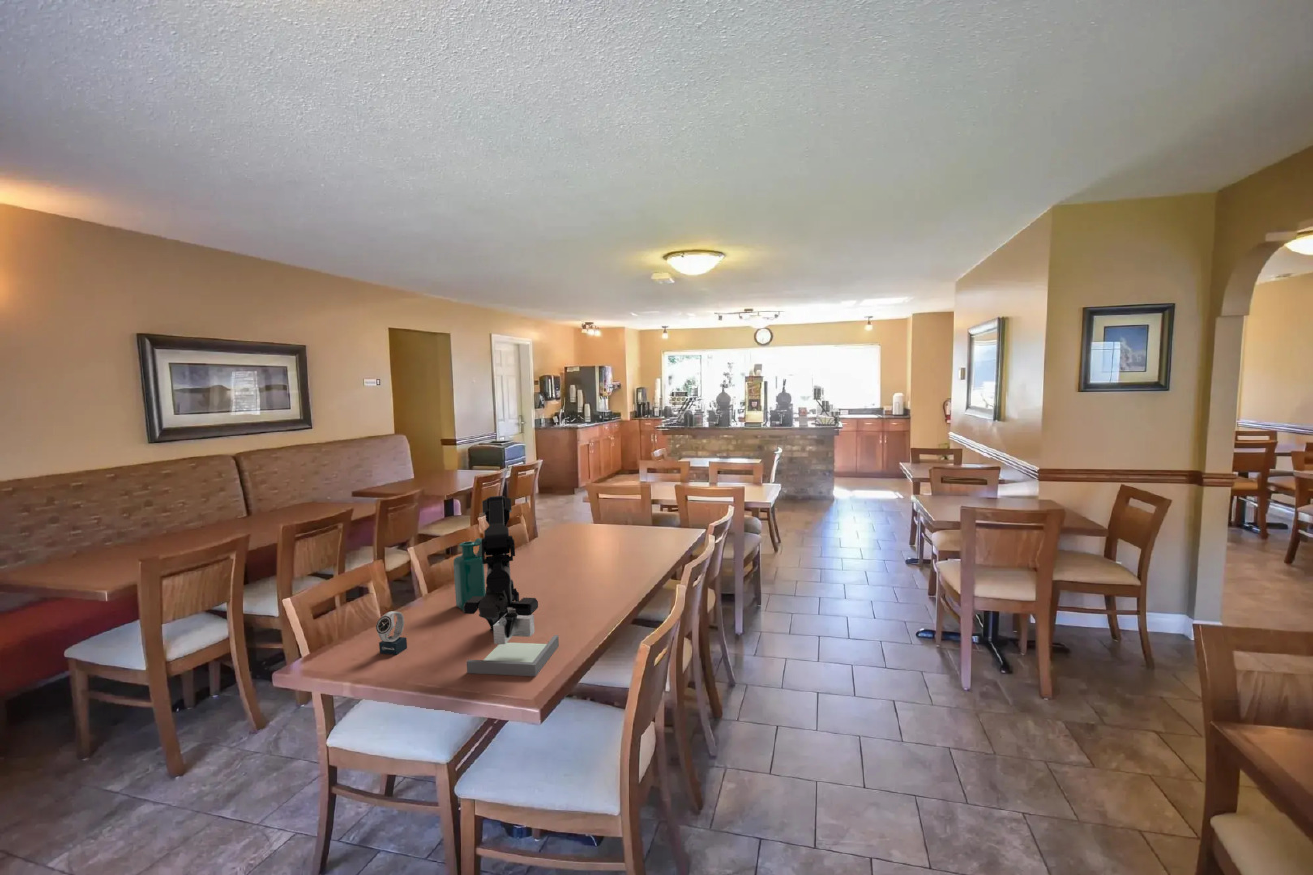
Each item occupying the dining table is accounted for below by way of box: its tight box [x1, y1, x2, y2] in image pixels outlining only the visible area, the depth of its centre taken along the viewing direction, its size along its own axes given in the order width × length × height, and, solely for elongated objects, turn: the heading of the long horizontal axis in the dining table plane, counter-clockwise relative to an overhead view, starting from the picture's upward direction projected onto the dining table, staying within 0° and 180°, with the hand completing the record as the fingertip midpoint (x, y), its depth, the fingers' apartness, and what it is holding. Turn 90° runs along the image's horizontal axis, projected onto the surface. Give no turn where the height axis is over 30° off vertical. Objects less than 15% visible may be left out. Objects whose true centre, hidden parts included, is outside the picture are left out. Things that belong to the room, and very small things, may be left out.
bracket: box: [492, 613, 535, 645], centre depth 151 cm, size 8×8×5 cm
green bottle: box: [453, 537, 486, 611], centre depth 192 cm, size 10×8×22 cm
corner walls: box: [465, 634, 560, 677], centre depth 151 cm, size 18×17×3 cm
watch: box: [375, 610, 408, 656], centre depth 159 cm, size 6×8×11 cm
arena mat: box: [483, 642, 548, 662], centre depth 152 cm, size 16×16×1 cm
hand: (502, 636), depth 150 cm, fingers closed on bracket, 3 cm apart
